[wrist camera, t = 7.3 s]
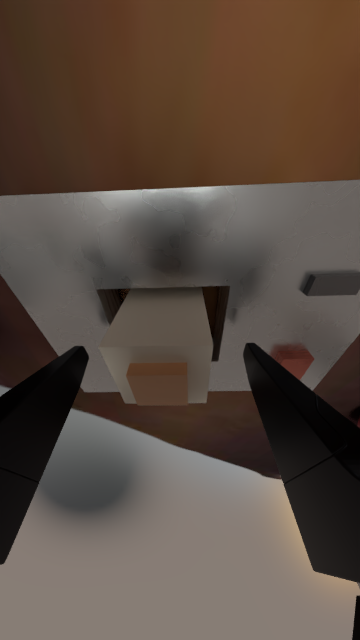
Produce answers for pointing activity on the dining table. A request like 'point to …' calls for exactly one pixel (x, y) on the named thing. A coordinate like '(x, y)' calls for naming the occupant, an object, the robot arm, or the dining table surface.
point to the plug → (160, 347)
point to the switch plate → (194, 268)
